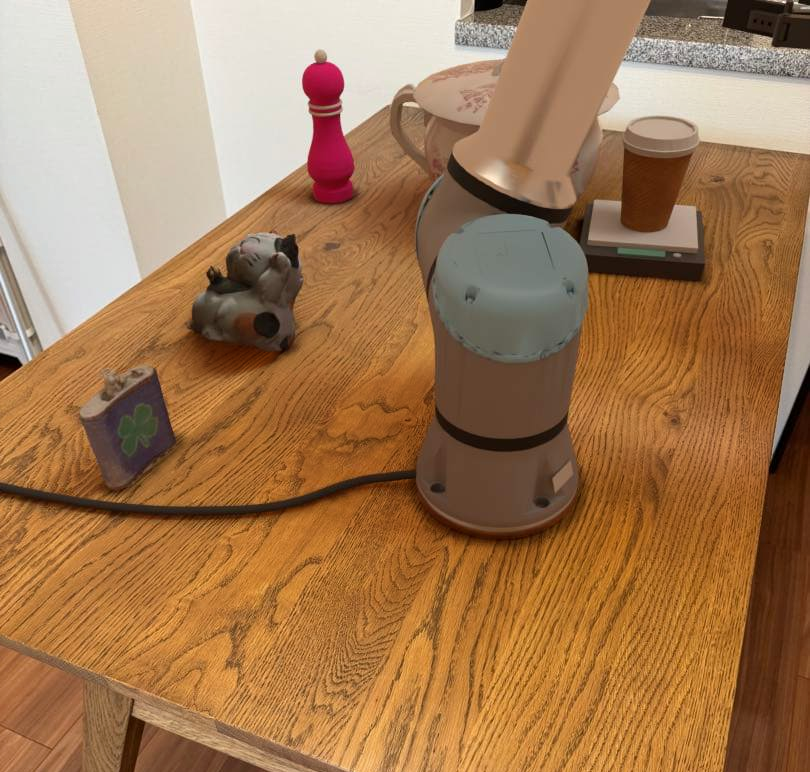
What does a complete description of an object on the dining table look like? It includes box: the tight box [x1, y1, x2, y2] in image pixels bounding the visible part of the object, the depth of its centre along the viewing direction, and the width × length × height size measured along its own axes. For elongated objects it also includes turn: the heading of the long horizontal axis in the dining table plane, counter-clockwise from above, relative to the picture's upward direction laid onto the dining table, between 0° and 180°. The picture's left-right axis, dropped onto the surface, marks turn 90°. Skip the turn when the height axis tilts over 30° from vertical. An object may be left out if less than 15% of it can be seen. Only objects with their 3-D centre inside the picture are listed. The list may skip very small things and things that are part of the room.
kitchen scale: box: [578, 199, 706, 282], centre depth 106 cm, size 16×16×3 cm
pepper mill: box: [301, 48, 356, 204], centre depth 115 cm, size 7×7×20 cm
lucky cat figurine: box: [186, 229, 305, 352], centre depth 90 cm, size 15×12×14 cm
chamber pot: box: [388, 57, 621, 201], centre depth 109 cm, size 28×28×21 cm
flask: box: [78, 364, 177, 493], centre depth 74 cm, size 9×3×11 cm, turn 151°
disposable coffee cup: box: [620, 115, 701, 232], centre depth 101 cm, size 10×10×12 cm
